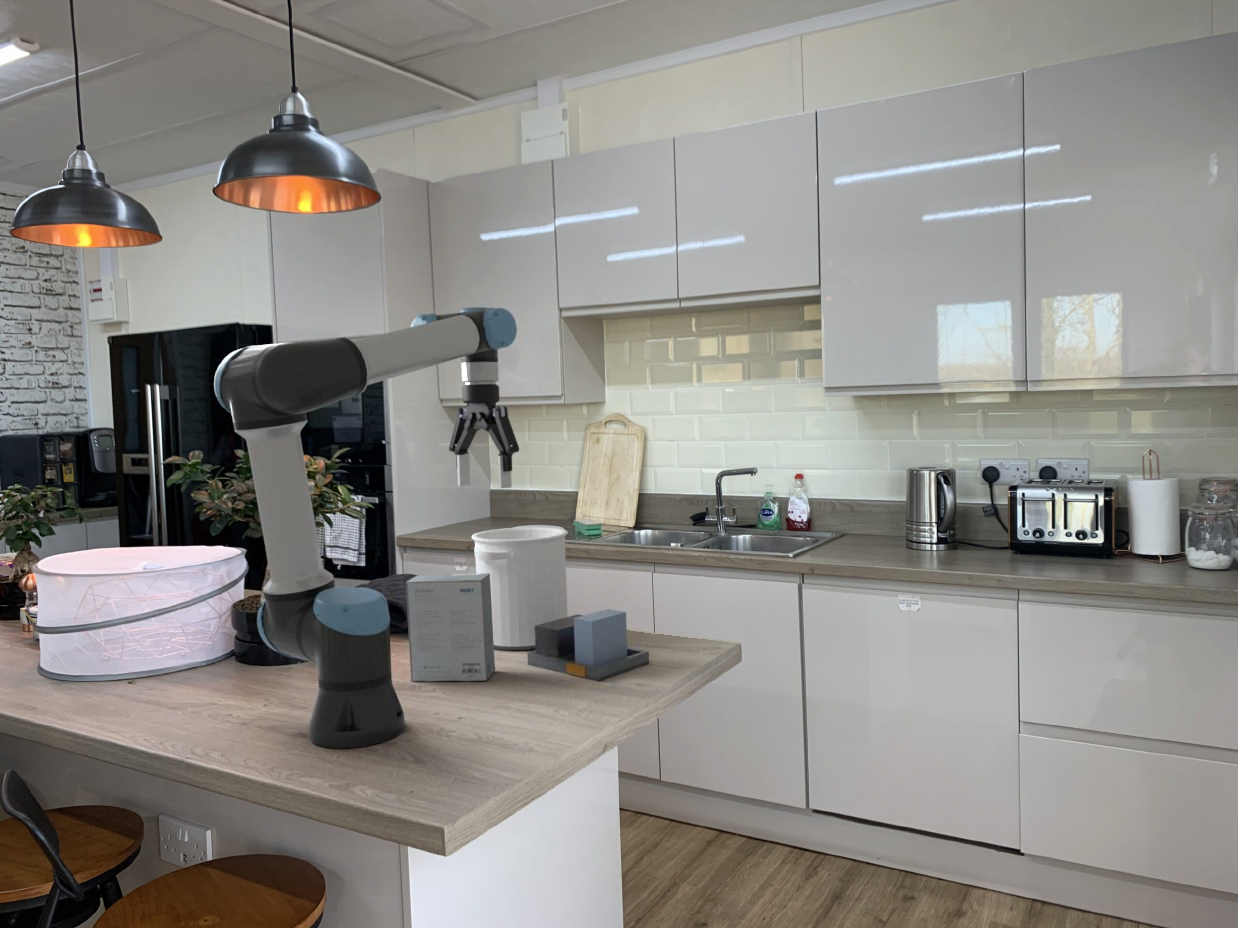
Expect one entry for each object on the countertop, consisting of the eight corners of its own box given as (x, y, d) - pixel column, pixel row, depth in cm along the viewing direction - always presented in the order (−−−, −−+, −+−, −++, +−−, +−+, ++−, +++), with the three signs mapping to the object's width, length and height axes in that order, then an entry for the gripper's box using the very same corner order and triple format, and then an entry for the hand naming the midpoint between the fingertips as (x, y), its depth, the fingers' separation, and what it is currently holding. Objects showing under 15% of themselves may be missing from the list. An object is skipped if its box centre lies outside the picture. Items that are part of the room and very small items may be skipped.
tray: (598, 681, 179) (596, 640, 178) (527, 664, 192) (525, 626, 192) (649, 663, 190) (647, 624, 190) (578, 648, 203) (577, 612, 203)
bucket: (525, 659, 196) (521, 543, 195) (449, 647, 208) (445, 538, 207) (594, 632, 218) (591, 528, 216) (522, 623, 230) (518, 524, 228)
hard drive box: (496, 670, 189) (492, 572, 187) (487, 681, 181) (483, 580, 180) (421, 670, 190) (416, 573, 189) (409, 682, 182) (404, 581, 181)
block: (593, 671, 183) (591, 621, 182) (575, 667, 186) (573, 618, 186) (627, 660, 190) (626, 612, 190) (609, 656, 194) (607, 609, 193)
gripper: (534, 381, 186) (537, 487, 188) (458, 386, 204) (462, 483, 205) (505, 381, 181) (508, 490, 182) (430, 386, 198) (433, 485, 199)
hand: (484, 486), depth 194 cm, fingers open, 13 cm apart
